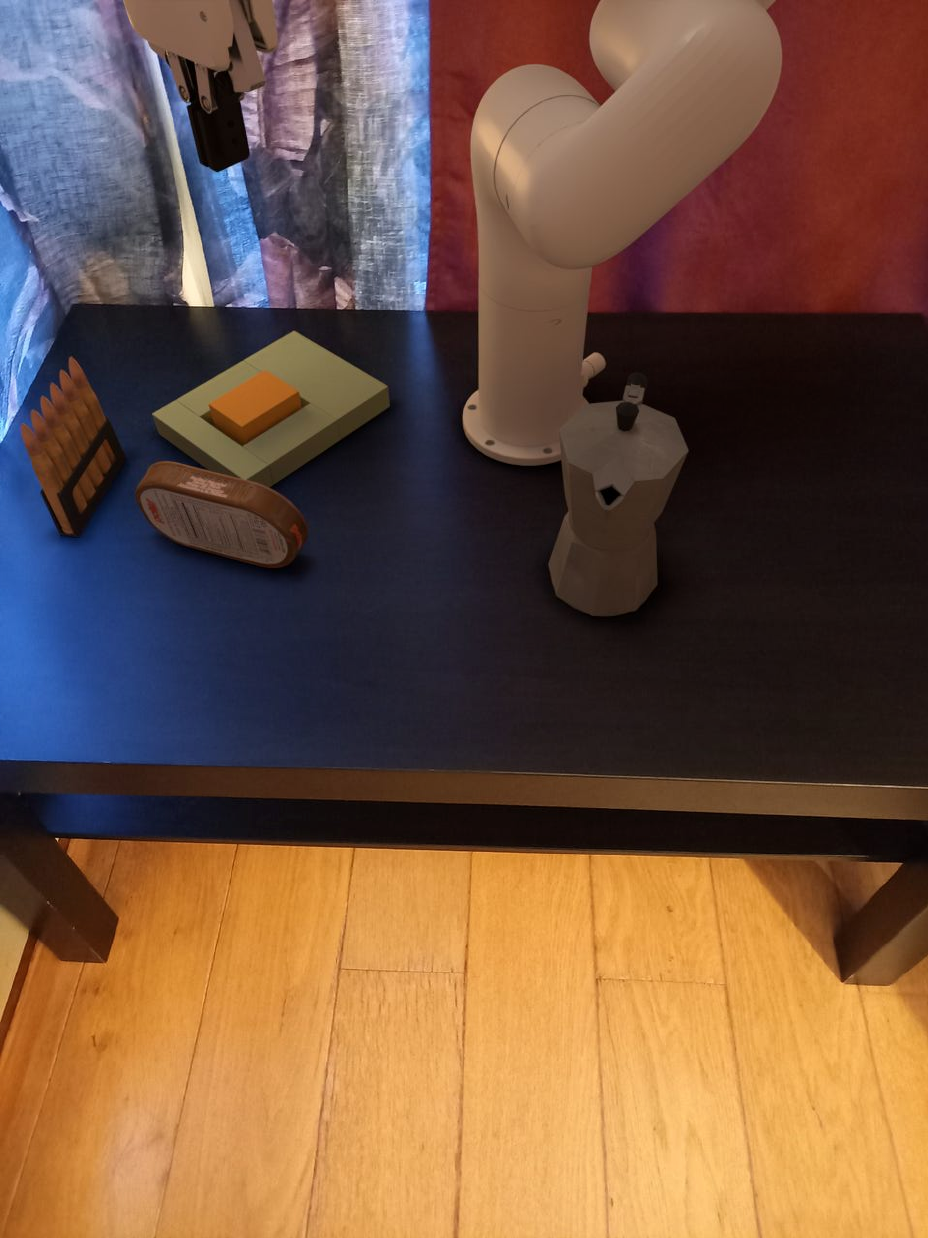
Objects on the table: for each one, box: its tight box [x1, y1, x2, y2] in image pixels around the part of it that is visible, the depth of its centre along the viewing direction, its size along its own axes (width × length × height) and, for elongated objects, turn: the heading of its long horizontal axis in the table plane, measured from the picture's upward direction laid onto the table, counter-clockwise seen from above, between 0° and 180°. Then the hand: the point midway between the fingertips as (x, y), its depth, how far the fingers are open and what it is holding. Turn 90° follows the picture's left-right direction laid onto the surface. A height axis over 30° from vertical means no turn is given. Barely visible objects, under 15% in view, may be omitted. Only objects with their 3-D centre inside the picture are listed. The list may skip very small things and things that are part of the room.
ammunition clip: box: [20, 356, 127, 538], centre depth 82 cm, size 11×2×12 cm, turn 170°
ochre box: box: [209, 370, 302, 447], centre depth 90 cm, size 7×5×4 cm
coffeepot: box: [547, 372, 689, 617], centre depth 73 cm, size 15×9×18 cm, turn 165°
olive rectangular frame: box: [151, 330, 391, 488], centre depth 92 cm, size 18×14×2 cm
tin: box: [134, 460, 309, 569], centre depth 79 cm, size 15×3×8 cm, turn 71°
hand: (225, 161), depth 65 cm, fingers closed
